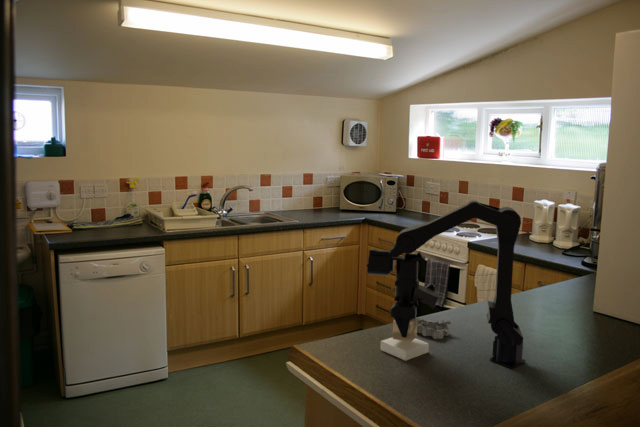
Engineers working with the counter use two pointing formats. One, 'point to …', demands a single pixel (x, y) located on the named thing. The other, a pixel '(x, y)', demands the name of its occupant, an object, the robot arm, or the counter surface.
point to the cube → (410, 334)
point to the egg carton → (433, 328)
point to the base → (404, 348)
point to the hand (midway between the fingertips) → (405, 333)
